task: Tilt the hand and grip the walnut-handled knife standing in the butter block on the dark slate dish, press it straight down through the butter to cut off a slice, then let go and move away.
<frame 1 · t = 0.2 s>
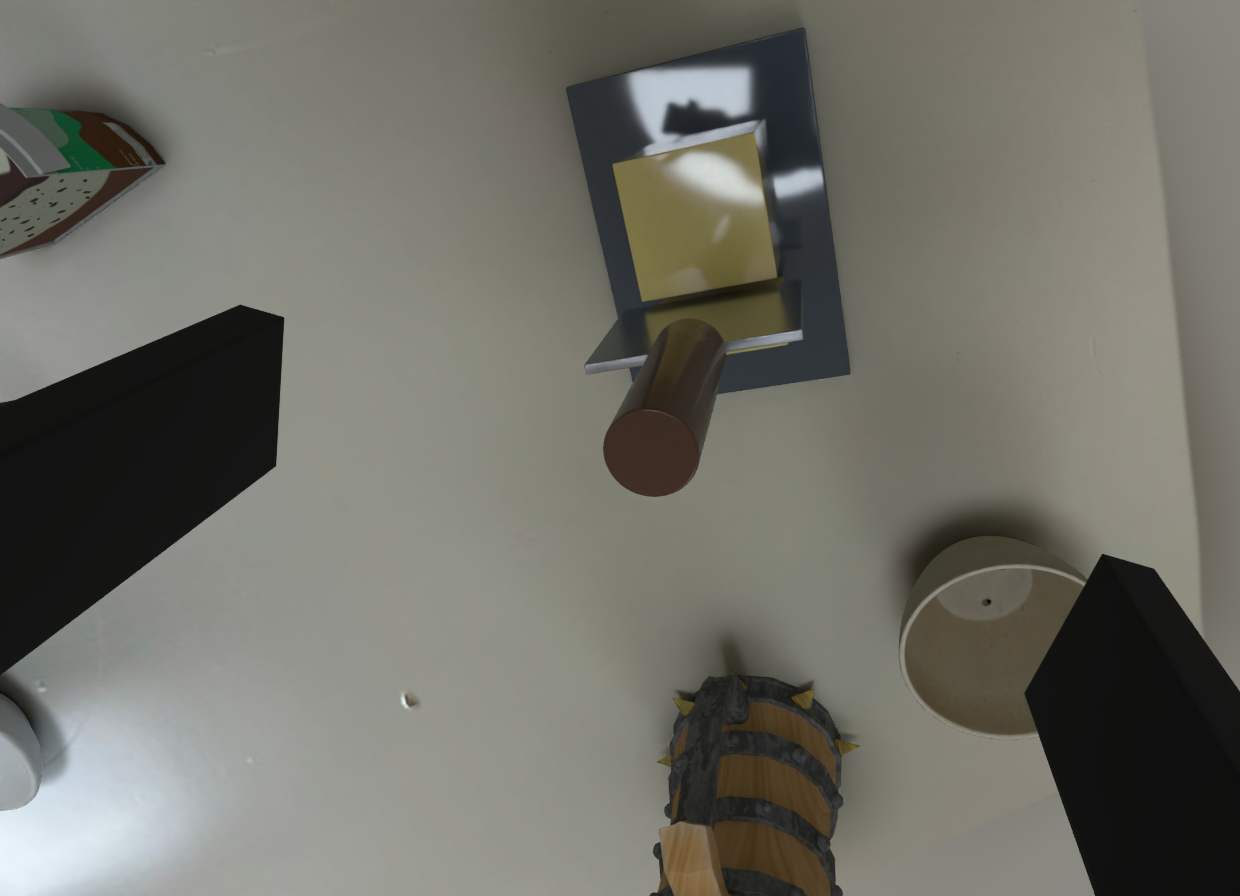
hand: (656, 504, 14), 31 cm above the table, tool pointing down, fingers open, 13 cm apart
butter dish: (714, 232, 42), on the table
mug: (748, 714, 54), on the table
flower pot: (981, 574, 47), on the table
food container: (76, 153, 48), on the table
knife: (688, 357, 31), point 14 cm above the table, slide at 0.0 cm
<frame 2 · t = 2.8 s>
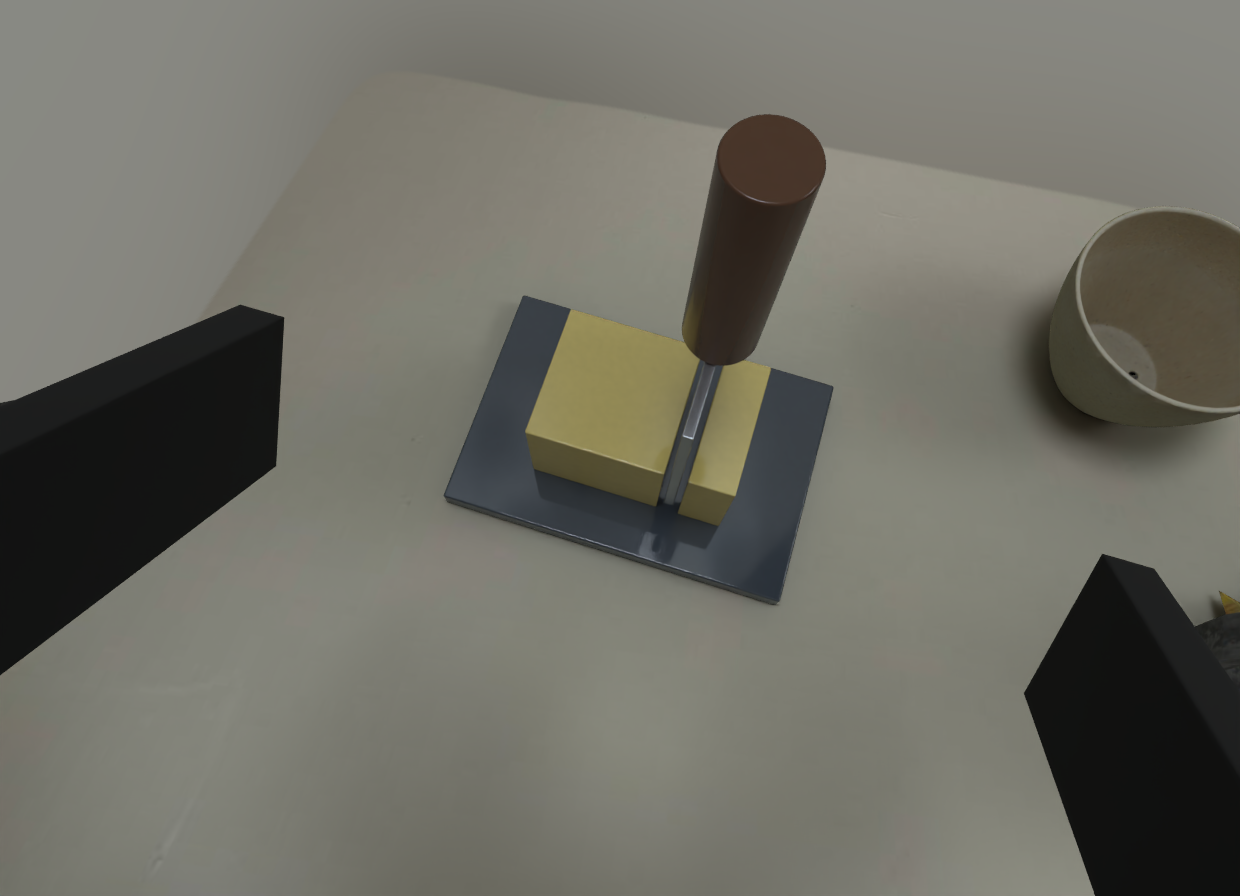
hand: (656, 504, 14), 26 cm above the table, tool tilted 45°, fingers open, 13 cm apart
butter dish: (642, 446, 42), on the table
flower pot: (1099, 374, 44), on the table
knife: (722, 324, 28), point 14 cm above the table, slide at 0.0 cm
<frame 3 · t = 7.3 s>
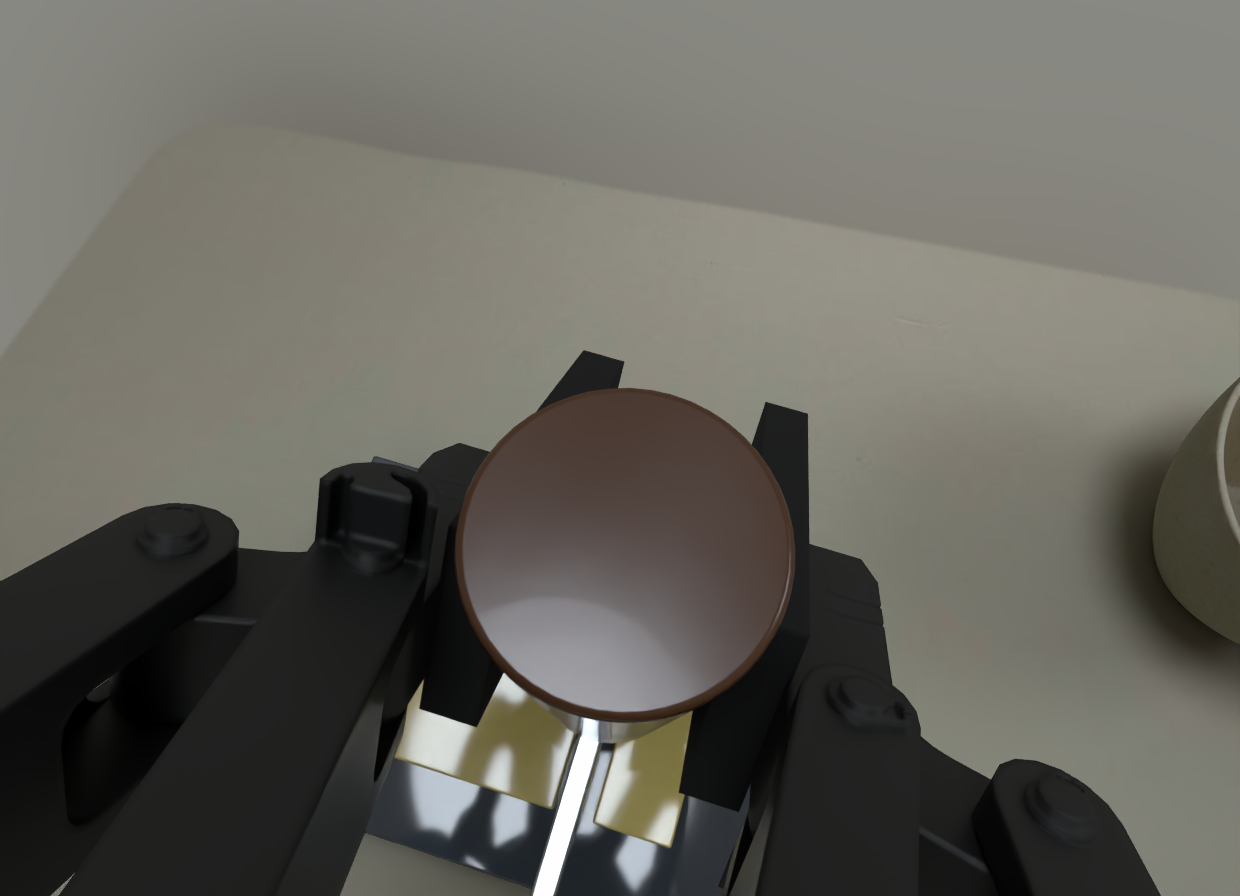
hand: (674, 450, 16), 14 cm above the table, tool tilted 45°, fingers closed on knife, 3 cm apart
butter dish: (547, 688, 28), on the table
flower pot: (1222, 558, 30), on the table
knife: (612, 661, 15), point 14 cm above the table, slide at 0.0 cm, touching gripper
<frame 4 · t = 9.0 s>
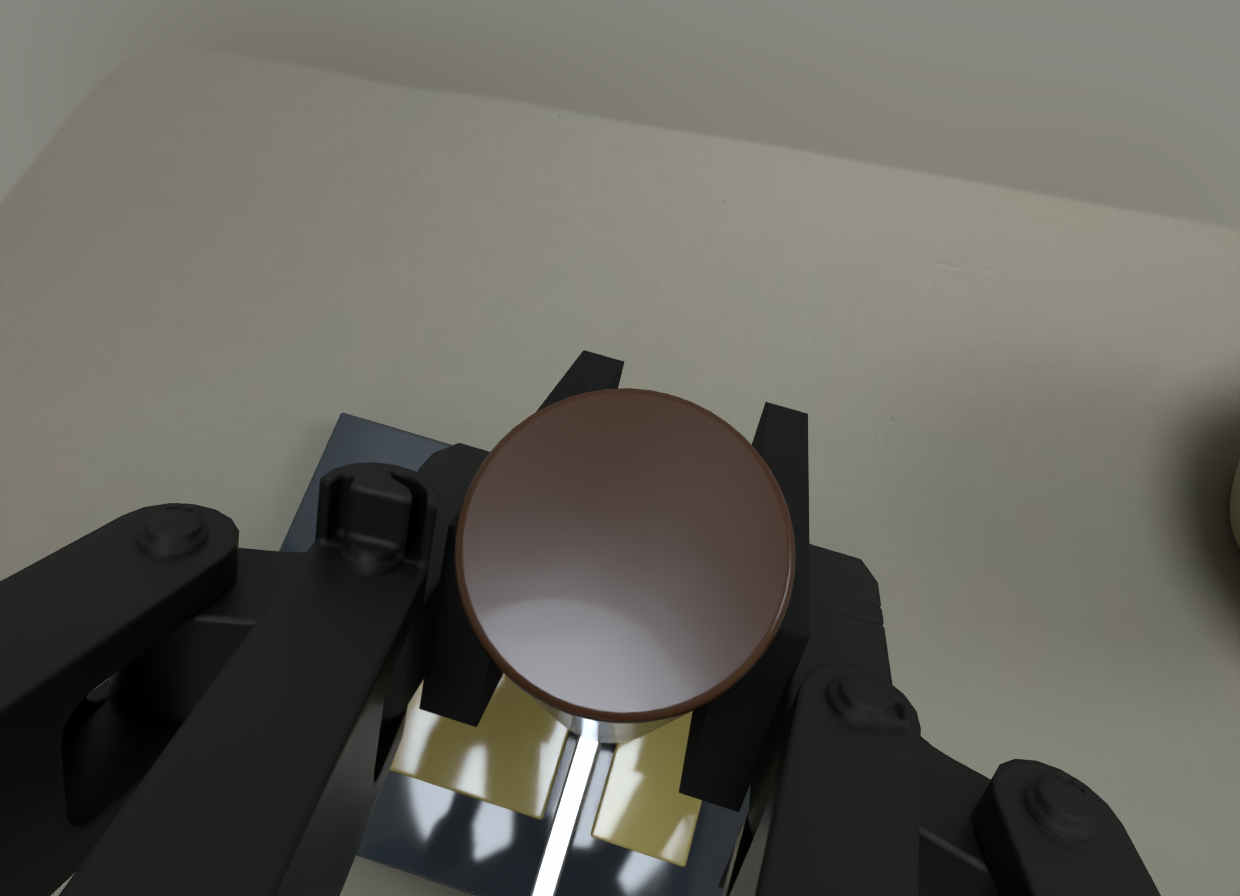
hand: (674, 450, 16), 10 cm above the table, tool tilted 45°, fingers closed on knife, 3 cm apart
butter dish: (539, 677, 24), on the table
knife: (612, 661, 15), point 10 cm above the table, slide at 3.9 cm, touching gripper
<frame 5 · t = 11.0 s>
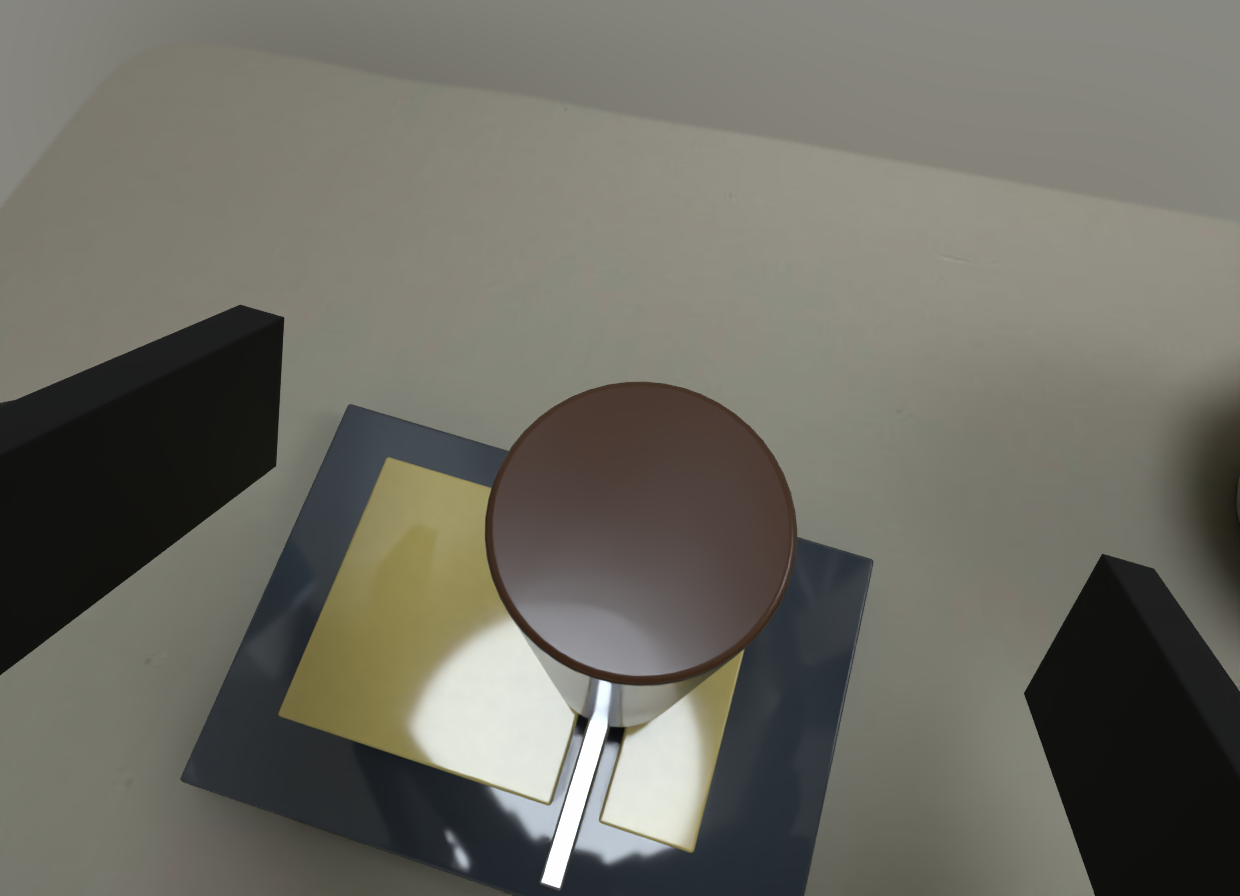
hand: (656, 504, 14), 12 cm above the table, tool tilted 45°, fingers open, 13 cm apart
butter dish: (545, 668, 24), on the table
knife: (621, 648, 15), point 9 cm above the table, slide at 4.5 cm, touching butter dish
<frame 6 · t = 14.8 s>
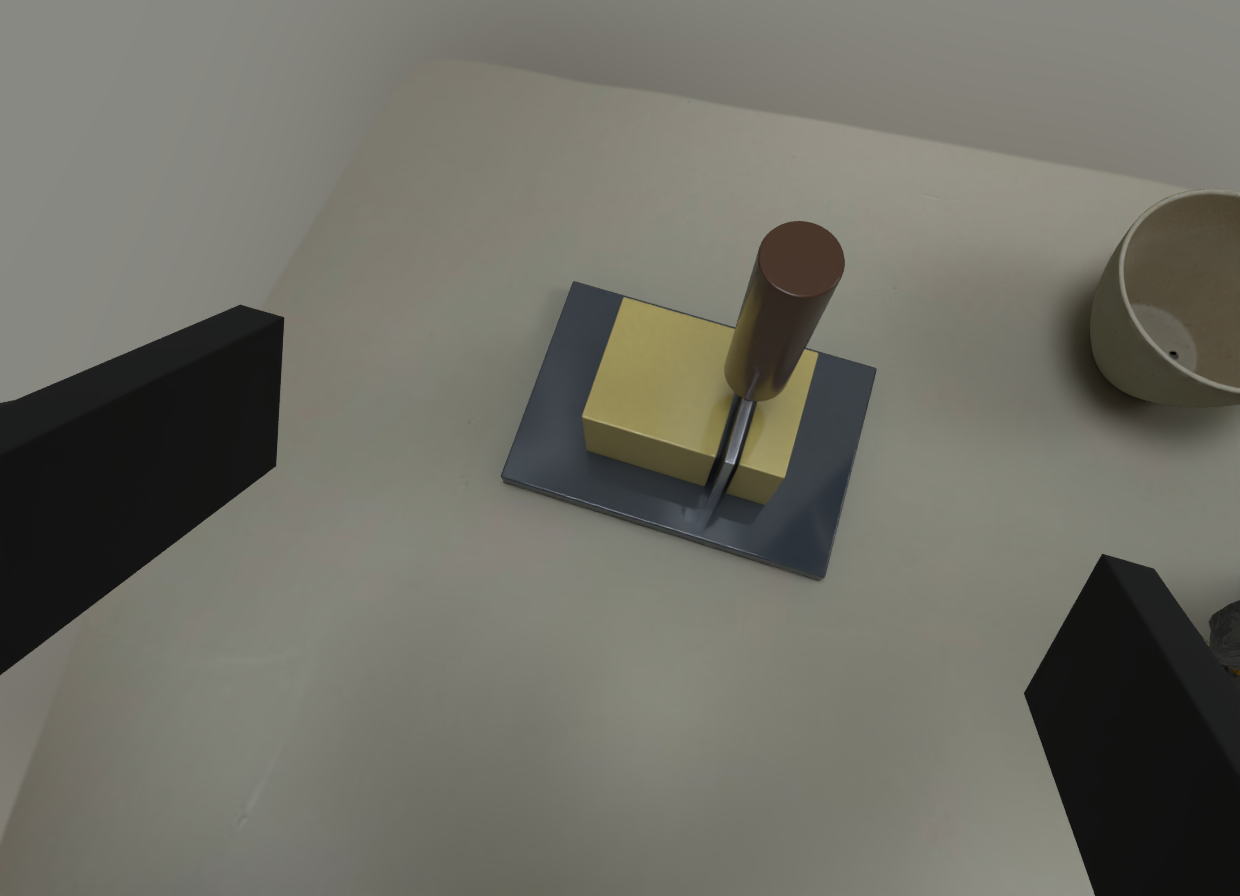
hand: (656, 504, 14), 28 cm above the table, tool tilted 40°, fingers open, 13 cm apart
butter dish: (690, 427, 43), on the table
flower pot: (1139, 353, 45), on the table
knife: (758, 366, 34), point 9 cm above the table, slide at 4.5 cm, touching butter dish
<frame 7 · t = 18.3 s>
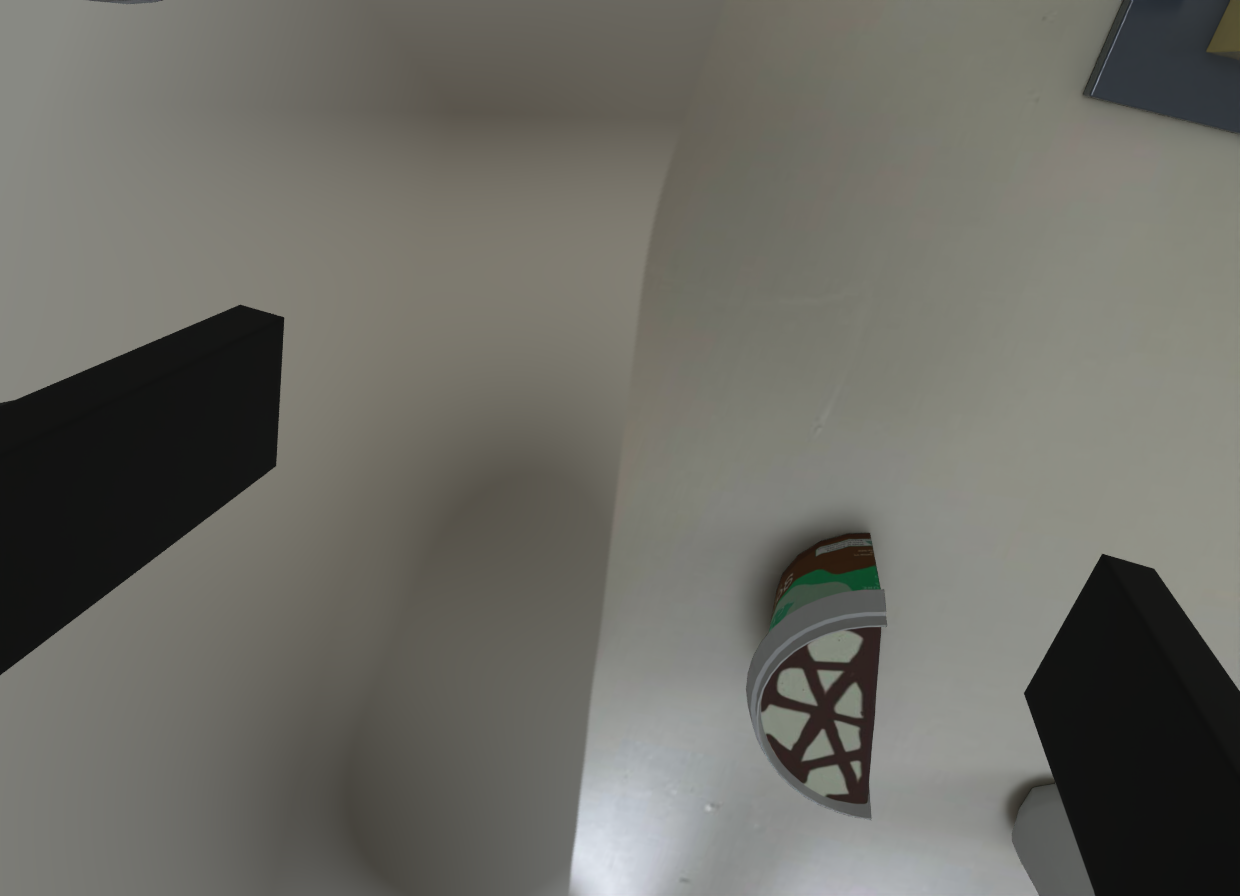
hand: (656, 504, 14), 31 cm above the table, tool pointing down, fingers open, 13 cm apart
salt shaker: (1055, 805, 52), on the table
food container: (809, 600, 49), on the table
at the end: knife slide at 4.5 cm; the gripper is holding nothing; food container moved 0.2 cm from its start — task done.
